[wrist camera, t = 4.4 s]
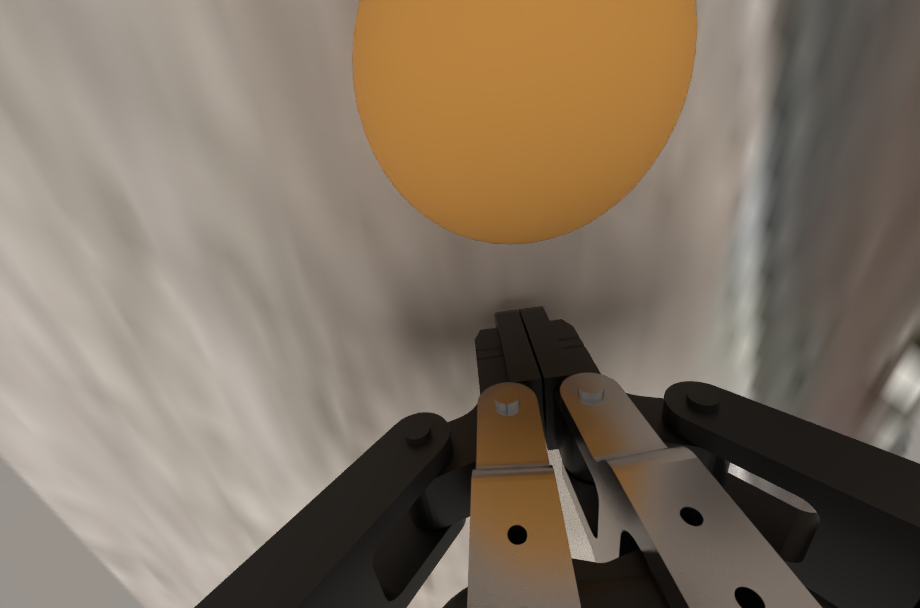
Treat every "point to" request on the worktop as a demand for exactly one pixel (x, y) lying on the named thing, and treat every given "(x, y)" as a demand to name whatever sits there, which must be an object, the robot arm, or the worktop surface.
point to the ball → (520, 105)
